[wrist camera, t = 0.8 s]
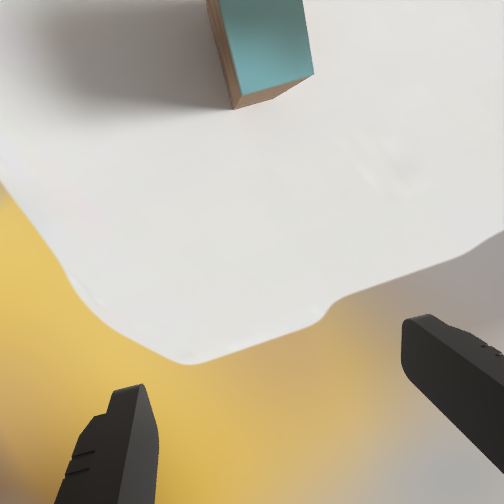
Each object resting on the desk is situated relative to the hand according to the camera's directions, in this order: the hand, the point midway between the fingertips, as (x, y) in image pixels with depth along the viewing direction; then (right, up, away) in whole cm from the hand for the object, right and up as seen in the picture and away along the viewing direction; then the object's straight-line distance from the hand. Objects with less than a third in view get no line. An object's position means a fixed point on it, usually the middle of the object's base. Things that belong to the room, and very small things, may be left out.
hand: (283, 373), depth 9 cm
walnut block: (-2, +21, +19) cm, 28 cm away
